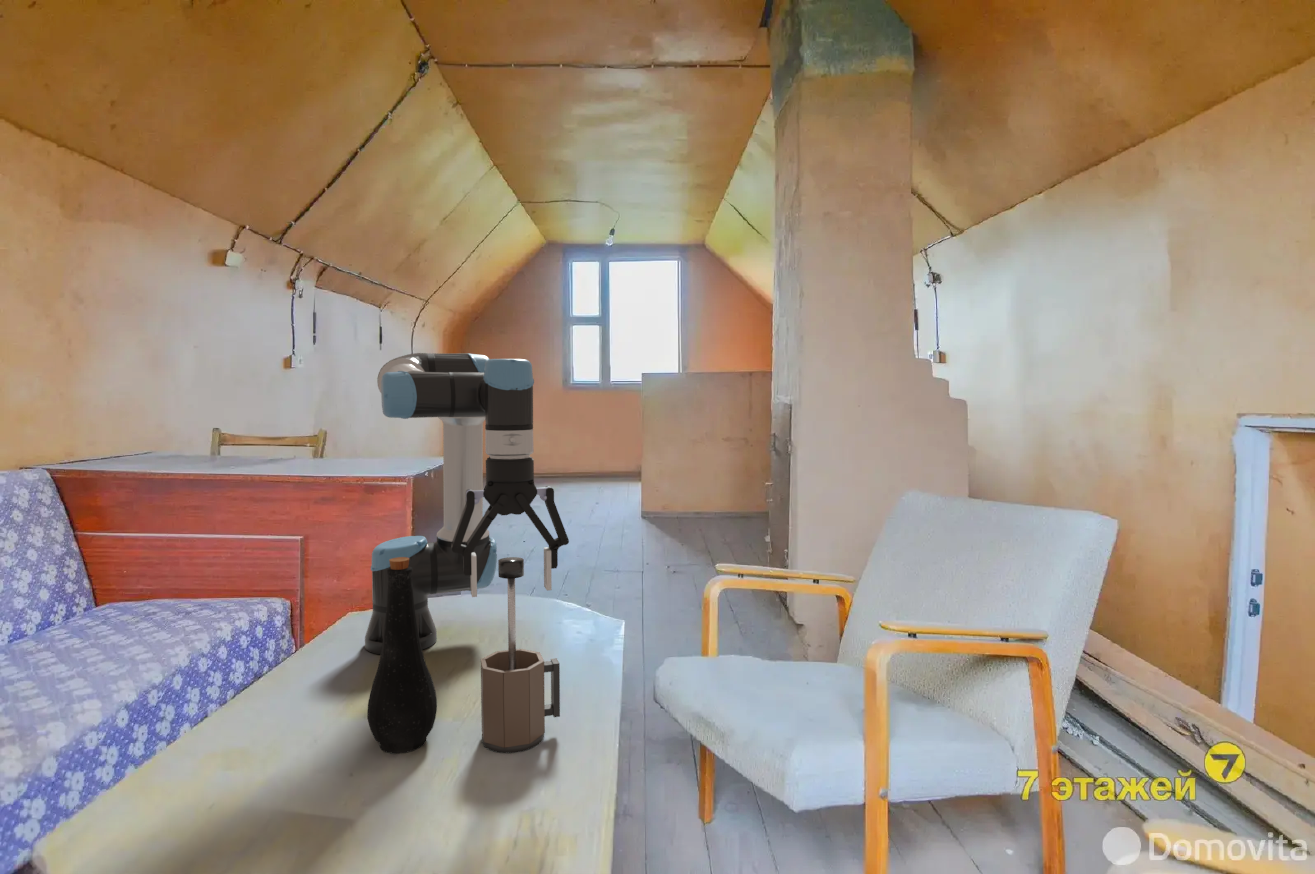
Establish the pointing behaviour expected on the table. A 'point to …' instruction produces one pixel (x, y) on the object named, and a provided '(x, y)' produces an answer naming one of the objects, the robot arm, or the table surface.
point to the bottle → (401, 672)
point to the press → (516, 700)
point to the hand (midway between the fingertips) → (511, 591)
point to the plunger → (511, 600)
